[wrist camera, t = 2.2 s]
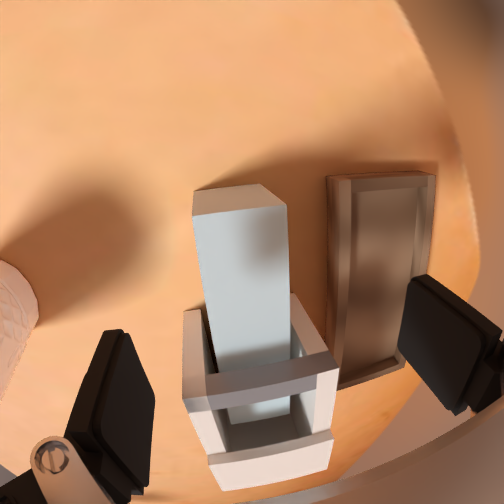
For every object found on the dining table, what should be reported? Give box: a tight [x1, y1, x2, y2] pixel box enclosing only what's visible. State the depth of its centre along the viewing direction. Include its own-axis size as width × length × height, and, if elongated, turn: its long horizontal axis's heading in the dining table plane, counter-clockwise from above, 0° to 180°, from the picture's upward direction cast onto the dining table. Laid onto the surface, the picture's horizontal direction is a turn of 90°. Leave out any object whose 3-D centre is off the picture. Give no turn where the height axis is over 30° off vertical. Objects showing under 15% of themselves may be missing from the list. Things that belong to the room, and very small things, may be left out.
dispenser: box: [182, 293, 339, 491], centre depth 19 cm, size 12×8×9 cm, turn 6°
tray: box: [325, 171, 436, 391], centre depth 22 cm, size 18×8×2 cm, turn 6°
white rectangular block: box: [192, 183, 290, 425], centre depth 18 cm, size 14×4×6 cm, turn 5°
